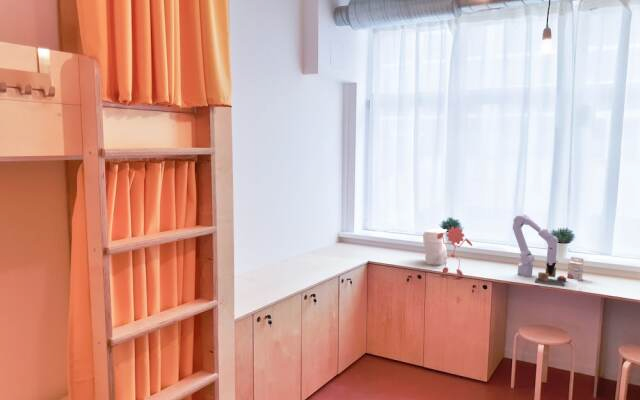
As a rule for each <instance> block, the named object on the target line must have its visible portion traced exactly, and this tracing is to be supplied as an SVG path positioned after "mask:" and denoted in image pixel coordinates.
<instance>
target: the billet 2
mask: <svg viewBox="0 0 640 400" xmlns="http://www.w3.org/2000/svg"><path fill="white" fill-rule="evenodd" d="M545 273H548V268H547V265H546V267H545ZM556 273H557V267H554V269H553V273H552V274H549V276H548V278H549V277H550V278H556Z"/></svg>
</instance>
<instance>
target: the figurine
mask: <svg viewBox="0 0 640 400" xmlns="http://www.w3.org/2000/svg"><path fill="white" fill-rule="evenodd" d="M447 231H448V233H446V235H445V236H446V238H447V239H448V242H447V243H446V242H445V240H444V239H445V238H444V235H443V233H440V234H438V236H437V238H438V239H440V238H442V241H443V243H444V244H445V245H452V246H453V247H454V249H453V252H452V253H450V256H447V257H446V258H447V259H449V258H450V257H451V258H456V259H457V260H458V261H459V262H458V266H461V265H460V264H461V263H460V262H461V259H459V258H458V257H456V256H455V254H454V253H455V251H456V248H457V247H458V248H460V247H461V246H462V245H463V244H464V242H466V243H467V244H469V246H471V247H473V244H472V242H471V241H470V240H469V239H468V238H465V239H464V237H465V234H464V232H463V229H461V228H460V227H459V226H457V227H456V226H455V227H454V226H451V228H450V229H447ZM449 242H450V243H449ZM456 244H457V245H456ZM446 258H445V259H446ZM447 259H446V260H447ZM446 264H447V263H446ZM446 264H444V268H442V273H443V277H445V275H446V274H447V273H452V274H453V272H450V271H449V268H448V267H447V265H446ZM463 275H464V274H463V272H462V270H461V269H460V267H458V268H457V269H456V278H455V279H458V276H460V277H463ZM464 280H466V278H465V279H464Z"/></svg>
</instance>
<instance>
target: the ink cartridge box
mask: <svg viewBox="0 0 640 400" xmlns="http://www.w3.org/2000/svg"><path fill="white" fill-rule="evenodd" d="M583 272H584V258H580V257H575V256H571V257H570V261H568V266H567V277H566V279H570V280H577V281H582V280H583Z"/></svg>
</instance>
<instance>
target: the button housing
mask: <svg viewBox="0 0 640 400" xmlns="http://www.w3.org/2000/svg"><path fill="white" fill-rule="evenodd" d="M556 281H562V282H565V283H566V282H567V277H565V276H564V279H561V278H559V276H557V278H556Z"/></svg>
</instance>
